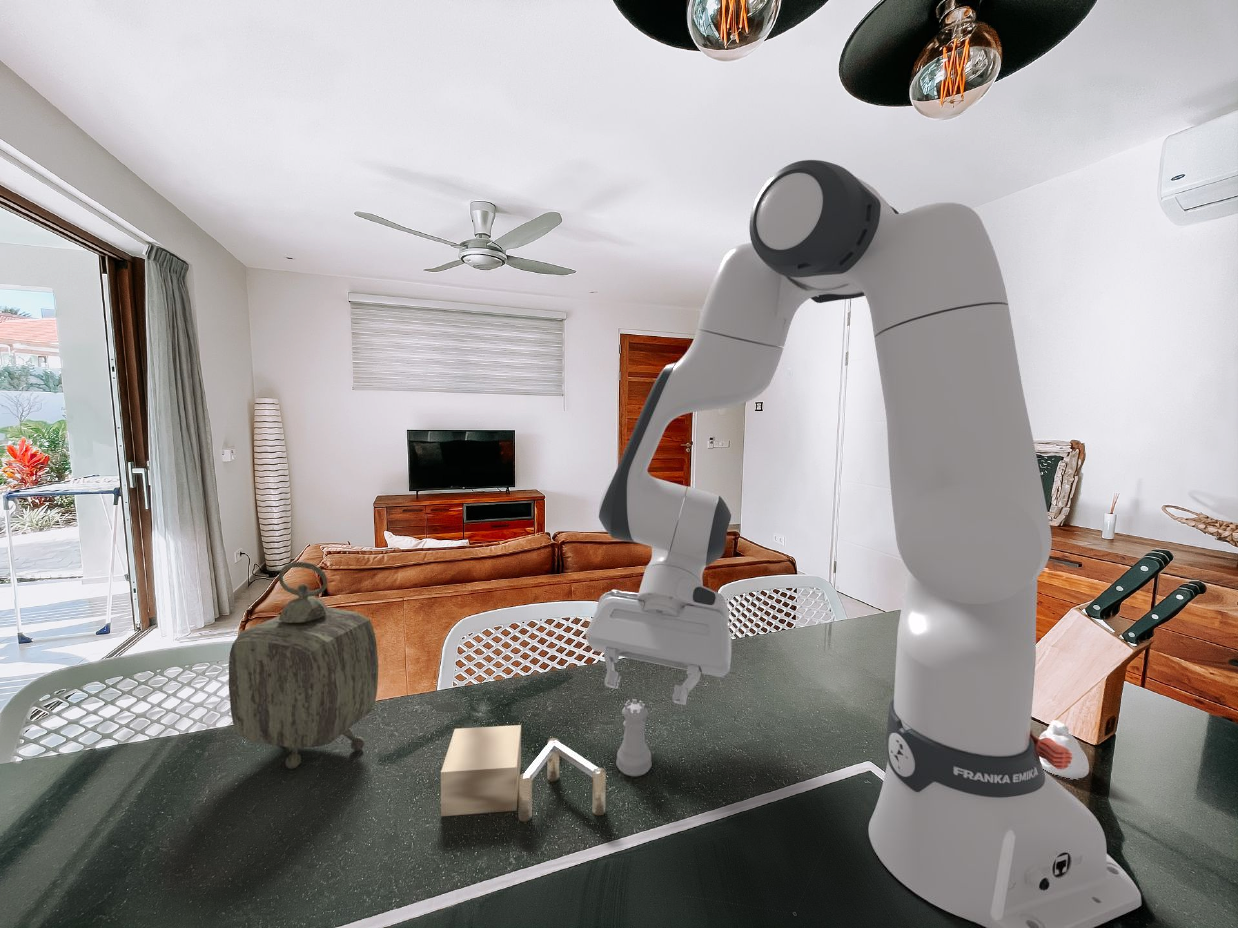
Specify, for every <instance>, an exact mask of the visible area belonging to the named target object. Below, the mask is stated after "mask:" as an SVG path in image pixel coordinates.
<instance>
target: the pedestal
mask: <svg viewBox="0 0 1238 928" xmlns="http://www.w3.org/2000/svg"><path fill="white" fill-rule="evenodd" d="M448 745H449V746H448V749H447V752H446V754H445V758H444V762H443V765H442V768H441V770H440V809H441V810H440V812H441V813H440V815H441V817H450V816H461V815H462V816H463V815H475V814H477V815H478V814H487V813H488V814H489V813H490V814H491V813H501V812H514V811H517V809H518V801H519V776H520V775H521V766H522V725H521V724H518V725H516V724H515V725H499V726H482V727H481V726H480V727H465V728H464V727H462V728H454V730H453V734H452V737H451V740H450V742H449V744H448Z"/></svg>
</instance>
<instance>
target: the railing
mask: <svg viewBox="0 0 1238 928" xmlns="http://www.w3.org/2000/svg"><path fill="white" fill-rule="evenodd" d="M546 742H547V745H545V747H543V749H542V750H541V752H540V753H539V755H538V756H537V757H536V758H535V759H534V760H533V762H532V763H531V764H530V765H529V767H528V768H527V769H526V771H525V772H523V773H520V776H519V790H518V819H519V821H521V822H528V821H530V820H531V819H532V818H533V817H532V816H533V812H532V811H533V810H532V809H533V780H534V779H535V777H536V776H537V775H538V774H539V772H540V771H541V770H542V768H543V767H544V765H546V763H547V767H546V769H547V771H546V773H547V774H546V775H547V780H548V781H549V782H557V780H559V778H560V757H561V758H563V759H565V760H566V762H568V763H570V764H572V765H573V766H575V767H576V768H577V769H579V770H580V771H582V772H584V773H585V774H586V775H588V776H590V777H591V778H592V813H593V814H594V815H595V816H602V815H604V814H605V813H606V788H607V787H606V780H607V779H606V777H607V776H606V774H607V773H606V772H607V771H606V769H605V768H603V767H598V766H596V765H595V764H593V763H592V762H591V761H590V760H587V759H585V758H584V757H583V756H582V755H580V754H578V753H577V752H575V751H574V750H572V749H571V748H569V747H568V746H566V745H565V744H563V743H561V742H560V739H559V738H558V737H557V738H556V737H551V738H549V739H548V740H547V741H546Z"/></svg>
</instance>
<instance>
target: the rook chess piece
mask: <svg viewBox="0 0 1238 928" xmlns="http://www.w3.org/2000/svg"><path fill="white" fill-rule="evenodd" d="M621 714H622V716H623V717H624V719H625V720H624V721H623V722H622V723H623V726H624V735H623V740H622V743H621V744H620V747H619V748H618V750H617V752H616V763H615V764H616V767H617V768H618V770H619V771H620V772H621V773H622V774H624V775H625V776H629V777H640V776H643V775H645V774H647V773H648V772H649V770H650V769H651V768H652V763H653V762H652V753H651V750H650V749H649V747H648V746H649V745H648V744H647V742H646V737H645V736H646V735H645V727H646V726H647V723H646V721H645V719H646V718H647V716H648V715H649V711H648V710H647V708H646V704H645V703H644V701H642V700H639V701H638V702H637V699H634V698H633V699H632V702H631V700H630V699H628V700H627V701H626V702H625V703H624V707H623V708H622V710H621Z"/></svg>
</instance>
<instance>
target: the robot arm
mask: <svg viewBox="0 0 1238 928" xmlns="http://www.w3.org/2000/svg"><path fill="white" fill-rule="evenodd" d="M748 226H749V228H748V229H749V236H750V241H751V242H748V243H744V244H739V245H738V246H735V247H733V248H732V249H730V250H729V251H728V252H727V253H725V255H724V256H723V258H722V260H721V261H720V264H719V266H718V267H717V271H716V273H715V274H714V277H713V279H712V282H711V285H710V287H709V289H708V292H707V295H706V298H705V300H704V303H703V307H702V310H701V314H700V317H699V320H698V324H697V328H696V331H695V335H694V338H693V340H692V343H690V346H689V348H688V349H687V351H686V352H685V353H684V355H682V357H681V358H680V359H679V360H678V361H677V362H673V363H669V364H666V365H665V367H663V368H662V370H661V371H660V372H659V374H658V376H657V378H656V379H655V381H654V383H653V385H652V386H651V390H650V391H649V394H648V396H647V398H646V400H645V402H644V405H643V407H642V409H641V411H640V414H639V416H638V419H637V420H636V424H635V425H634V428H633V430H632V433H631V435H630V438H629V439H628V442H627V444H626V447H625V450H624V452H623V454H622V456H621V458H620V461H619V463H618V466H617V468H616V471H615V472H614V474H613V475H612V477H611V478H610V481H609V482H608V483H607V485H606V487H605V489H604V491H603V493H602V496H601V498H600V502H599V505H598V506H599V507H598V519H599V521H600V523H601V525H602V527H603V528H604V529H605V531H606V533H607V534H608V535H609V536H610V537H611V538H612V539H613V540H619V541H624V542H629V543H634V544H635V543H637V544H641V545H646V546H649V547H651V558H650V561H649V563H648V564H647V565H646V568H645V570H644V573H643V577H642V580H641V582H640V587H639V589H638V590H639V591H638V592H633V591H624V590H623V591H622V590H620V589H611V590H610V591H608V592H605V593H603V594H602V595H601V596H600V597H599V599H598V602H597V606H596V611H595V613H594V614H593V616H592V618H591V619H590V620H591V621H590V622H589V625H588V627H587V630H586V632H585V638H586V642H587V643H588V645H589V646H590V648H591V649H592V650H593V651H594V652H599V653H604V654H603V657H604V662H605V666H606V670H607V671H606V675H605V678H604V685H605V686H606V687H607V688H611V689H618V688H619V683H620V682H621V678H622V676H621V674H619V672H618V671H615V670H616V669H615V664H617V663H618V661H619V659H620V657H623V658H627V659H632V660H636V661H641V662H646V663H651V664H656V665H660V666H664V667H665V666H666V667H671V668H674V669H680V670H685V671H686V674H687V676H688V677H686V679H685V680H684V681H683V683H682V684H681V685H678V684H674V686H673V693H672V697H671V699H672V701H673V703H675V704H679V705H682V706H686V703H687V699H688V695H689V693H690V692H691V691H692V689H694V688H695V687H696V686H697V684H698V683H699V682H700V678H701V674H704V675H709V676H712V677H716V678H717V677H718V678H723V677H724V676H726V675H727V674H728V673H729V672H730V669H731V663H732V662H731V660H732V637H731V632H730V627H729V621H730V611H729V606H728V604H727V602H726V599H725V597H724V596H723V594H721V593H719V592H717V591H715V590H713V589H710V588H708V587H706V586H704V585H703V573H704V570H705V568H706V567H708V566H710V565H712V564H713V563H714V562H717V560H719V559H720V558H721V557H722V556H723V554H724V553H725V549H726V545H727V534H728V528H729V526H730V524H731V519H732V513H731V510H730V508H729V507H728V504H727V503H726V502H725V500H724V499H723V498H722V497H721V495H718V494H715V493H712V492H711V491H707V490H703V489H699V488H695V487H693V486H689V485H688V486H687V485H682V484H679V483H675V482H672V481H671V482H670V481H667V480H663V479H661V478H656V477H654V476H652V475H651V474H650V473H649V471H648V470H649V467H650V464H651V462H652V459H653V457H654V455H655V453H656V451H657V448H658V446H659V444H660V442H661V439H662V437H663V435H664V433H665V430H666V428H667V427H668V425H669V424H670V423H671V422H672V421H673V420H675V419H676V418H678V417H681V416H682V415H683V416H684V415H687V414H690V413H694V412H695V413H696V412H703V411H710V410H711V411H713V410H721V409H727V408H733V407H737V406H739V405H743V404H746V403H748V402H750V401H752V400H753V399H755V398H757V397H759V395H761V394H762V393H763V392H765V390H766V389H767V388H768V387H769V386H770V385H771V382H772V380H773V378H774V375H775V373H776V371H777V369H778V368H777V367H778V366H779V363H780V361H781V357H782V354H783V351H784V347H785V343H786V341H787V337H788V334H789V330H790V327H791V325H792V321H793V318H794V316H795V314H796V312H797V311H798V309H799V308H800V307H801V306H802V305H803V304H804V303H805V302H806V301H808V300H810V299H811V300H812V301H813V302H815V303H817V304H822V303H828V302H835V301H842V300H843V301H845V300H851V299H857V298H862V297H865V299H866V301H867V304H868V308H869V311H870V312H869V313H870V317H871V323H872V331H873V336H874V337H873V338H874V344H875V351H876V357H877V363H878V369H879V371H878V372H879V377H880V384H881V388H882V389H881V390H882V396H883V403H884V407H885V408H884V409H885V416H886V430H887V449H888V452H887V454H888V467H889V481H890V482H889V483H890V495H891V504H892V513H893V514H892V515H893V522H894V523H893V524H894V532H895V541H896V547H897V549H898V552H899V555H900V558H901V560H902V561H903V563H904V566H905V567H906V568H905V569H906V570H905V579H904V586H903V595H902V602H901V609H900V615H899V622H898V625H897V626H898V627H897V639H896V655H895V656H896V657H895V672H894V673H895V674H894V693H893V698H892V699H891V700H890V701H889V705H888V712H887V725H886V747H887V748H886V751H887V764H886V767H885V768H886V769H885V774H884V778H883V780H882V781H883V782H882V787H881V789H880V793H879V795H878V796H879V797H878V799H877V803H876V805H875V809H874V811H873V813H872V815H871V816H870V817H871V818H870V820H869V823H868V837H869V841H870V844H871V846H872V849H873V850H874V852H875V853H876V856H878V858H879V860H880V862H881V863H882V865H884V866H885V867H886V868H887V870H888V871H889V872H890V873H891V874H892V875H893V876H894V877H895V878H896V879H897V880H898V881H899V882H901V883H902V884H903V885H904V886H905V887H907V888H908V889H910V890H911V892H913V893H914V894H916V895H917V896H919V897H920V898H922V899H923V900H926V901H927V902H928V903H930V904H932V905H934V906H936V907H938V908H940V909H942V910H943V911H946V912H947V913H950V914H952V915H955V916H957V917H959V918H963V919H965V920H968V921H970V922H972V923H973V922H974V923H976V924H978V925H980V926H982V927H985V928H1095V927H1098V926H1101V925H1102V924H1105V923H1108V922H1109V921H1111V920H1114V919H1115V918H1118V917H1120V916H1122V915H1126V914H1127V913H1130V912H1132V911H1134V910H1136V909H1138V908H1139V907H1141V906H1142V894H1141V892H1140V890H1139V889H1138V887H1137V885H1136V883H1134V881H1133V880H1132V878H1131V877H1130V876H1129V875H1128V874H1127V871H1125V869H1123V868H1122V867H1121V866H1120V864H1118V863H1117V861H1115V860H1114V858H1112V857H1111V856H1110V855H1109V854H1108V853H1107V840H1106V836H1105V832H1104V830H1103V828H1102V825H1101V824H1100V822H1099V820H1098V819H1097V817H1096V816H1095V815H1094V813H1092V811H1090V809H1088V808H1087V806H1086V805H1085V804H1083V803H1082V802H1081V801H1080V799H1078V798H1077V797H1076V796H1075V795H1074V794H1072V793H1071V792H1070V791H1068V789H1066V788H1065V787H1064V786H1063V785H1061V783H1059V782H1058V781H1057V780H1056V779H1055V778H1053V776H1051V774H1048V772H1047V771H1045V770H1043V767H1042V764H1041V761H1040V758H1039V756H1040V757H1041V758H1044V759H1046V760H1047V761H1048V762H1049V763H1050V764H1051V765H1053V766H1054V767H1055V768H1057V769H1065V768H1067V767H1068V764H1071V761H1070V760H1072V757H1071V756H1072V754H1071V753H1070V752H1069V750H1068V749H1066V748H1065V747H1063V746H1061V745H1058V744H1056V743H1055V742H1054V741H1053V740H1052V739H1050V738H1042V739H1039V738H1040V737H1038V736H1036V735H1034V734H1033V733H1034V732H1033V731H1032V730H1031V726H1032V725H1031V723H1032V713H1033V700H1034V686H1035V685H1034V684H1035V676H1036V673H1035V672H1036V664H1037V663H1036V662H1037V661H1036V660H1037V659H1036V658H1037V648H1036V647H1037V605H1038V604H1037V603H1038V602H1037V601H1038V599H1037V598H1038V577H1039V576H1040V575H1041V573H1042V572H1043V571H1044V569H1045V567H1046V565H1047V563H1048V561H1049V558H1050V555H1051V550H1052V543H1053V542H1052V541H1053V539H1052V531H1051V523H1050V519H1049V514H1048V513H1049V512H1048V509H1047V503H1046V497H1045V493H1044V488H1043V482H1042V477H1041V473H1040V471H1041V470H1040V467H1039V462H1038V457H1037V451H1036V448H1035V442H1034V438H1033V432H1032V428H1031V427H1032V426H1031V423H1030V418H1029V414H1028V408H1027V404H1026V400H1025V394H1024V389H1023V384H1022V382H1023V381H1022V376H1021V371H1020V366H1019V360H1018V353H1017V349H1016V347H1017V346H1016V342H1015V337H1014V330H1013V325H1012V319H1011V313H1010V312H1011V311H1010V305H1009V300H1008V296H1007V291H1006V286H1005V282H1004V277H1003V274H1002V270H1001V267H1000V264H999V261H998V257H997V255H996V252H995V249H994V247H993V243H992V242H991V238H990V237H989V234H988V232H987V229H986V228H985V226H984V224H983V221H982V219H981V217H980V216H979V215H978V213H977V212H976V211H975V210H974V209H973V208H971V207H969V206H967V205H964V204H961V203H956V202H938V203H937V202H935V203H931V204H926V205H923V206H919V207H916V208H914V209H912V210H909V211H906V212H903V213H899V211H897V209H896V208H894V207H893V206H891V205H890V204H889V203H888V202H887V200H885V199H884V198H883V196H882V195H881V194H880V193H879V192H878V190H876V189H875V188H874V187H873V186H871V185H870V184H869V183H867V182H866V181H864V180H862V179H860V178H859V177H856V176H855V175H854V174H853V173H851V172H850V171H849V170H848V169H846V168H844V167H843V166H840V165H839V164H836V163H833V162H830V161H826V160H825V161H824V160H819V159H805V160H799V161H795V162H792V163H790V164H788V165H786V166H784V167H783V168H781V169H779V170H778V171H777V172H775V173H774V174H773V175H772V176H771V177H770V178H769V179H768V180H767V181H766V182H765V184H764V185H763V187H762V188H761V190H760V192H759V193H758V195H757V197H756V198H755V200H754V203H753V207H752V210H751V213H750V216H749V225H748Z"/></svg>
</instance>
